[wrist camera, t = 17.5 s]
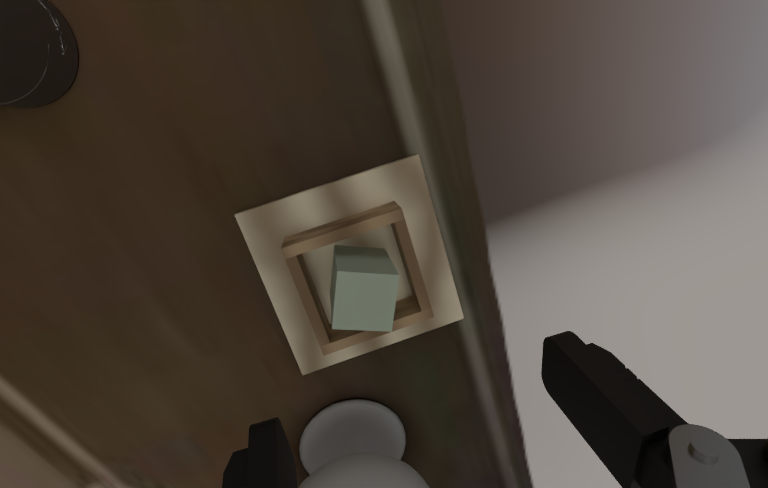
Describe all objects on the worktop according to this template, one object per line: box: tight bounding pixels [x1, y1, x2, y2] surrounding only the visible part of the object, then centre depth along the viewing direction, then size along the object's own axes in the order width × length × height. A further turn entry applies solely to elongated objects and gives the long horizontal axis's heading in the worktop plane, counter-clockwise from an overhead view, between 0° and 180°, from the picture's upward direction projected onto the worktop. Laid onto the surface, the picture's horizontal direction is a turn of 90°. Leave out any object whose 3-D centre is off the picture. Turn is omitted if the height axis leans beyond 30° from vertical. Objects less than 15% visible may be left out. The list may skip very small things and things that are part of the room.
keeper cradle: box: [235, 154, 464, 375], centre depth 40 cm, size 18×18×5 cm
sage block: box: [330, 245, 399, 332], centre depth 38 cm, size 5×5×8 cm
